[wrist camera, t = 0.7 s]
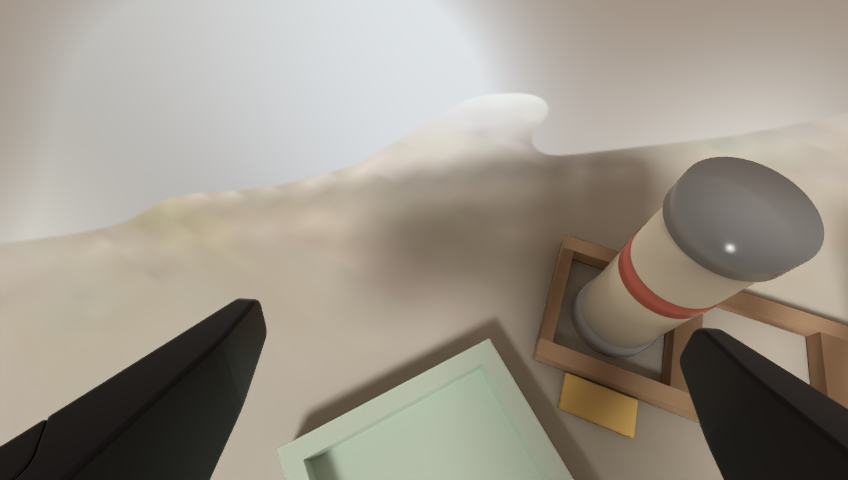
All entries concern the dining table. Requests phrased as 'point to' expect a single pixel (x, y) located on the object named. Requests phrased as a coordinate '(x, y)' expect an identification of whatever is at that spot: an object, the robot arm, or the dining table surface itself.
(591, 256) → the wooden fuse rack
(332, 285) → the dining table surface
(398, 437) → the tray
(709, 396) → the robot arm
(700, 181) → the ball
